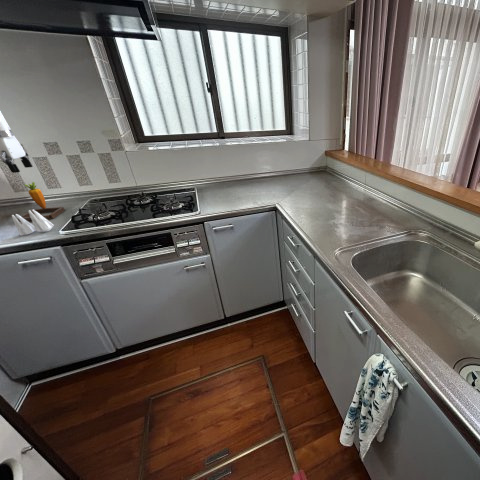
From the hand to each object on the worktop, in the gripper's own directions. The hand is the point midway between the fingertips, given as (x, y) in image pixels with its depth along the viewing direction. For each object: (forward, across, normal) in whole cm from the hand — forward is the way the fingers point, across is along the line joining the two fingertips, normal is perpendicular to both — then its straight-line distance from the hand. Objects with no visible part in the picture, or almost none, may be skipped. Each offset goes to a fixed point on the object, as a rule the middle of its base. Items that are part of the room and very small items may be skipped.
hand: (22, 169), depth 137 cm
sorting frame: (+22, +11, +4) cm, 25 cm away
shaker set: (+22, +32, +14) cm, 41 cm away
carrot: (+22, 0, 0) cm, 22 cm away
